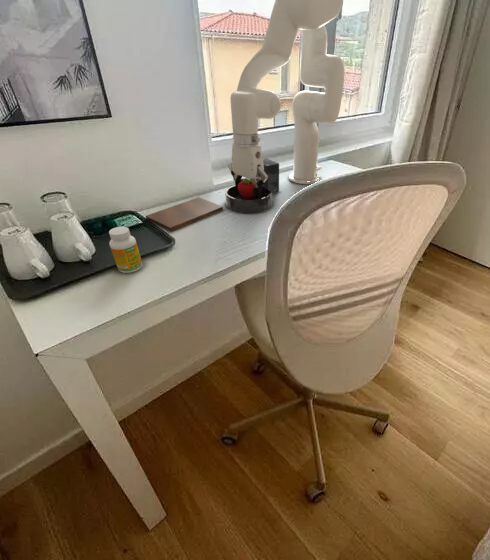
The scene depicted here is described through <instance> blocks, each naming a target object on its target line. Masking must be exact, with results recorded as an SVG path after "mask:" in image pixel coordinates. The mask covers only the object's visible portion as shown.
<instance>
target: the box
mask: <svg viewBox="0 0 490 560" xmlns="http://www.w3.org/2000/svg"><path fill="white" fill-rule="evenodd" d="M263 164H264V172H265V173H266V174H267V175H268V178H267V180H266V182H265V183H264V184H263V186H266V187H268V188H269V189H270V190H271V192H272V195H273V194H276V193H279V192H280V163H279V162H276V161H273V160H272V159H269V158H263ZM261 178H262V177H261ZM256 181H257V183H258V180H257V179H256Z"/></svg>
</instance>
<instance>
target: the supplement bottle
mask: <svg viewBox="0 0 490 560" xmlns="http://www.w3.org/2000/svg"><path fill="white" fill-rule="evenodd" d="M108 234H109V237H110V240H109V244H108V245H109V248H110V251H111V254H112V256H113V259H114V261H115V265H116V268H117V270H118V272H120V273H123V274H129V273H134V272H137V271H139V270H140V269H141V268H142V267H143V260H142V257H141V253H140V250H139V246H138V243H137V240H136V237H134V236H133V235H131V231H130V228H128V227H127V226H116V227H113V228H111V229H110V230H109V231H108Z"/></svg>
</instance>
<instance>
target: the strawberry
mask: <svg viewBox="0 0 490 560" xmlns="http://www.w3.org/2000/svg"><path fill="white" fill-rule="evenodd" d="M241 180H243V181H241V182H240V183H239V184H238V190H239V193H240V195H241V196H242V197H243V199H244V200H254V191H253V188H254V187H255V186H254V183H253V181H252V179H249V178H246V177H244V178H241Z"/></svg>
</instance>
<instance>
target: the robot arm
mask: <svg viewBox="0 0 490 560" xmlns="http://www.w3.org/2000/svg"><path fill="white" fill-rule="evenodd" d="M343 4H344V0H275V1H274V4H273V6H272V10H271V14H270V17H269V22H268V25H267V29H266V32H265V35H264V39H263V43H262V46H261V48H260V49H259V50H257V52H256V53H255V54H254V55H253V56H252V58H251V59H250V60H249V61H248V62H247V63H246V65H245V66H244V69H243V70H242V72H241V74H240V77H239V80H238V84H237V88H236V90H235V91H233V92H232V93H231V94H230V113H231V126H232V140H233V142H232V147H231V162H230V163H229V164H228V166H227V168H228V170H229V172H230V175H231V176H232V177H233V178H232V180H233V181H234V185H235V189H236V193H239V190H238V184H239V183H240V182H241V181H244V180H241V179H243V178H246V179H249V180H250V179H252V181H253V183H254V186H255V187H254V188H253V191H254V199H258V198H261V197H262V188H261V186H263V184H264V183H265V182H266V180H267V178H268V175H267V174H266V173H265V172H264V164H263V159H264V157H263V151H262V146H261V144H259V143H260V142H261V138H260V137H259V120H261V119H263V120H264V119H265V120H270V119H274V118H275V117H277V116H278V115H279V114H280V111H281V109H282V101H281V98H280V96H279V95H278V94H277V93H276V92H275V91H272V90H270V89H269V90H268V89H262V88H258V86H259V84H260V83H261V81H262V80H263V79H264V78H265V77H266V76H267V75H268V74H270V73H271V72H274V71H275V70H277V69H280V68H281V67H283V66H285V65H286V64H287V63H288V62H289V61H290V59H291V56H292V53H293V52H292V51H293V50H294V46H295V42H296V38H297V35H298V32H299V31H300V32H301V49H300V61H299V80H300V82H301V84H303V85H304V86H307V87H312V88H320V89H324V92H320V91H313V90H301V91H298V92H297V93H296V94H295V95H294V97H293V100H292V113H293V115H292V116H293V123H294V125H293V126H294V133H293V134H294V135H293V136H294V139H293V166H292V167H293V168H292V172H291V173H290V174H289V176H288V179H289V180H290V182H292V183H295V184H300V185H313V184H316V183H315V182H317V181H318V182H320V180H321V179H320V178H321V177H320V175H318V172H319V171H322V168H323V167H322V166H321V165H318V158H319V157H318V155H319V145H320V143H319V142H320V130H319V127H318V125H317V124H324V125H333V124H334V123H335V122H336V121H337V120H338V117H339V115H340V111H341V105H342V98H343V90H344V85H345V84H344V83H345V77H346V68H345V63H344V61H343V59H342V58H341V57H340V56H339V55H336V54H327V49H328V39H329V38H328V31H327V27H326V25H327V24H328V23H330V22H331V21H333V20H334V19H336V18H337V17H338V16H339V14H340V13H341V10H342V8H343ZM261 177H262V178H261ZM317 177H320V178H317ZM316 178H317V179H316ZM256 179H257V180H258V183H257V181H256ZM318 179H319V180H318ZM316 180H317V181H316ZM307 181H310V182H307ZM318 182H317V183H318Z"/></svg>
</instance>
